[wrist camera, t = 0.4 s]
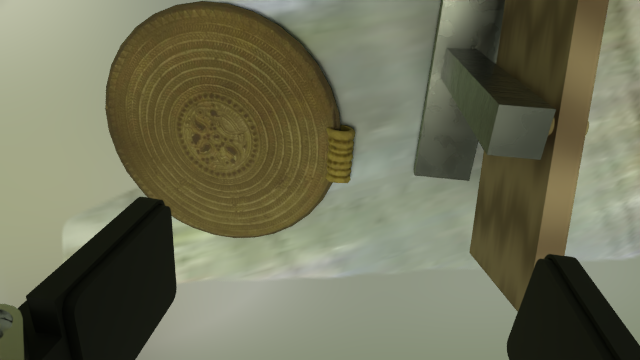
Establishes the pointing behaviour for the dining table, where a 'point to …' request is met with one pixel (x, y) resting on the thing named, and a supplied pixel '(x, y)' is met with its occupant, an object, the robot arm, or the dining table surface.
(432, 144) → the frame post
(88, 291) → the robot arm
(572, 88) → the picture frame
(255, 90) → the decorative disc
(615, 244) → the dining table surface
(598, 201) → the dining table surface
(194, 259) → the dining table surface
